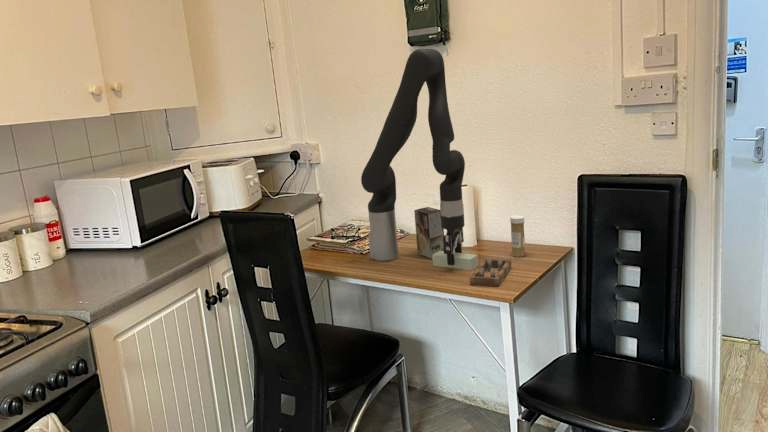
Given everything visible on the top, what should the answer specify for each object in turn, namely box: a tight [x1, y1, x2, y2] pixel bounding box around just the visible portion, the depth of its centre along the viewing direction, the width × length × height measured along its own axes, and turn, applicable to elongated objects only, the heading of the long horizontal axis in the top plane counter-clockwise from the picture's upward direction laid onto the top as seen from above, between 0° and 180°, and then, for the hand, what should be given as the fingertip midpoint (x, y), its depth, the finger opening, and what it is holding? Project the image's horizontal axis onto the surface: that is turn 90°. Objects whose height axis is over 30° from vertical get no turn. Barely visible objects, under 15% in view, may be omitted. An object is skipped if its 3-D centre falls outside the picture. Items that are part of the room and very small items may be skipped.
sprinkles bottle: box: [509, 214, 526, 258], centre depth 207 cm, size 5×5×13 cm
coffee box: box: [414, 206, 445, 259], centre depth 216 cm, size 9×6×16 cm
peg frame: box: [469, 257, 512, 288], centre depth 191 cm, size 18×9×4 cm, turn 157°
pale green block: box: [431, 251, 479, 271], centre depth 203 cm, size 14×5×4 cm, turn 55°
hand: (454, 260), depth 203 cm, fingers open, 8 cm apart
